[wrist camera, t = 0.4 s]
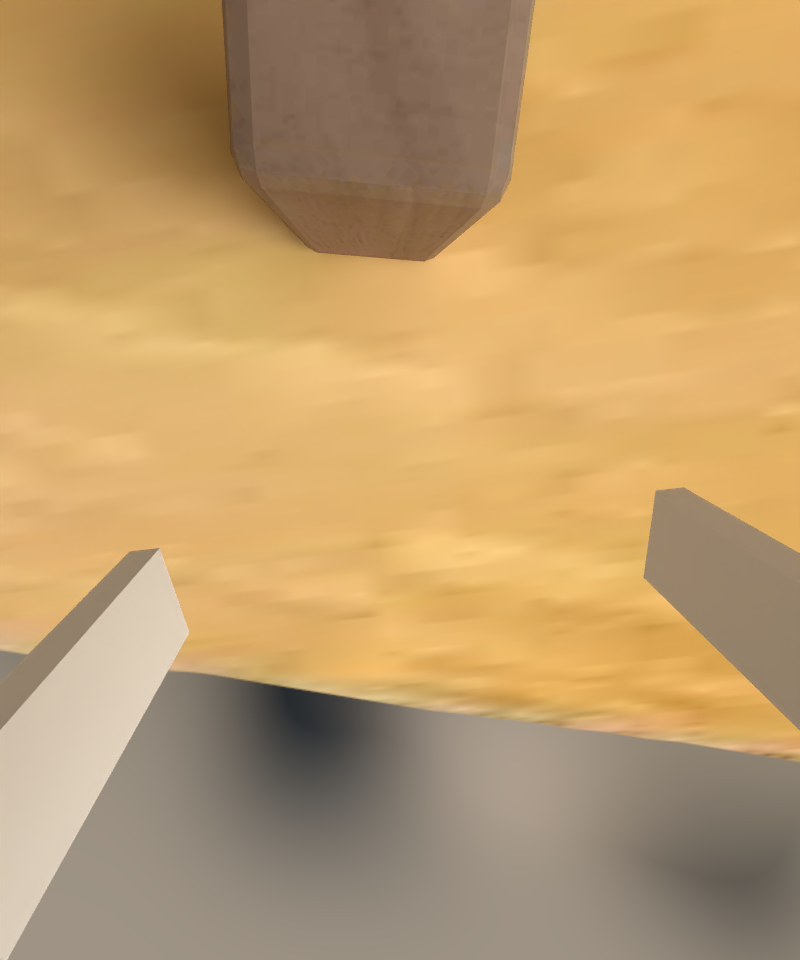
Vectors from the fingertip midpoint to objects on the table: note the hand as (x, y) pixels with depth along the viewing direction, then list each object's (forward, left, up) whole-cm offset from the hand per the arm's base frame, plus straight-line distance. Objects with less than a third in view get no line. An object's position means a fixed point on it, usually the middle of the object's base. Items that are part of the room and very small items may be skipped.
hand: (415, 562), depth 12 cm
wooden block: (-15, +1, -28) cm, 32 cm away
